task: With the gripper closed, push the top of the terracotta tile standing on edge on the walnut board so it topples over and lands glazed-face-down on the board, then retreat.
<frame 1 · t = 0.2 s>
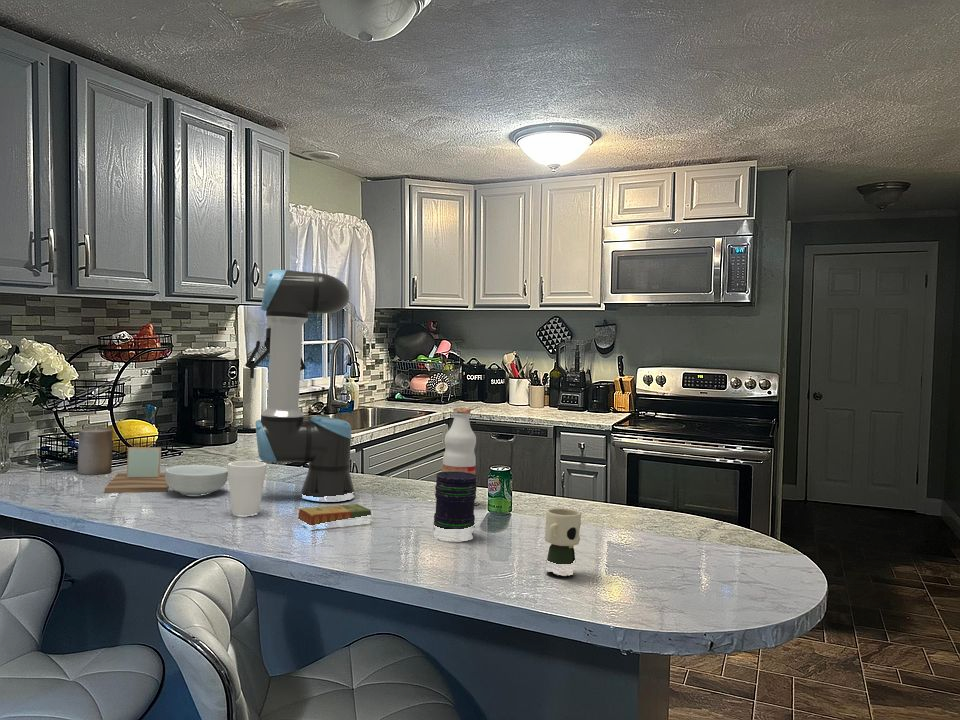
hand: (274, 388, 249), 28 cm above the counter, tool pointing down, fingers open, 13 cm apart
pillar candle: (94, 473, 227), on the counter
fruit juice: (457, 506, 205), on the counter
cereal bowl: (196, 494, 204), on the counter
character mug: (560, 575, 146), on the counter
foam cup: (245, 515, 183), on the counter
tile: (143, 477, 217), point 1 cm above the counter, touching board
brown and green block: (334, 526, 178), on the counter
board: (141, 483, 213), on the counter
storage jar: (453, 537, 171), on the counter
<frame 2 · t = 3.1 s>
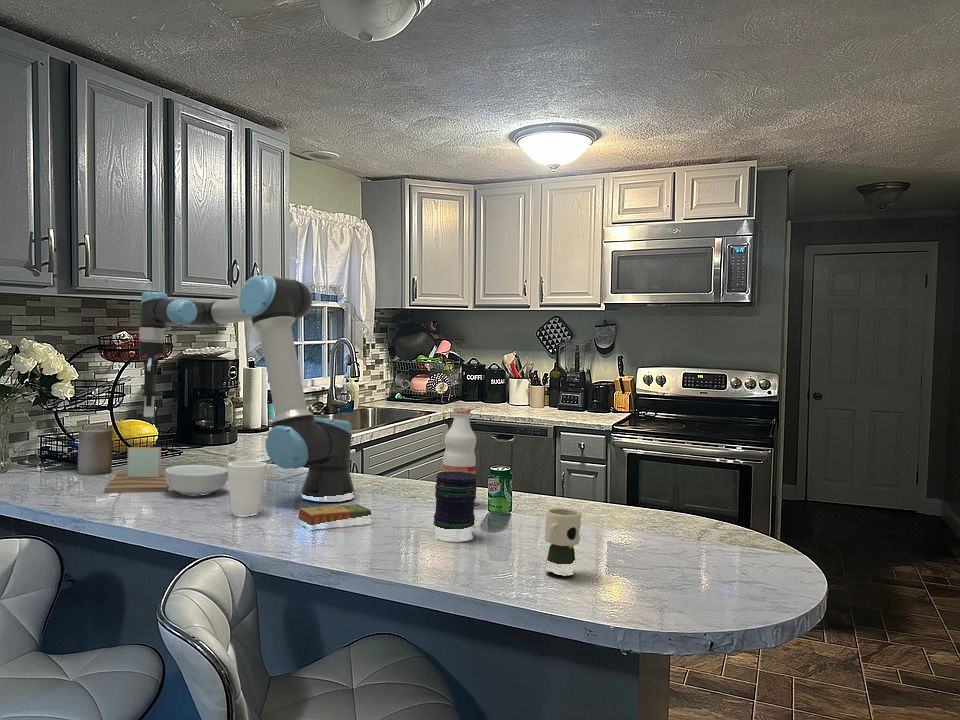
hand: (148, 416, 224), 19 cm above the counter, tool pointing down, fingers closed
nothing on the counter moved.
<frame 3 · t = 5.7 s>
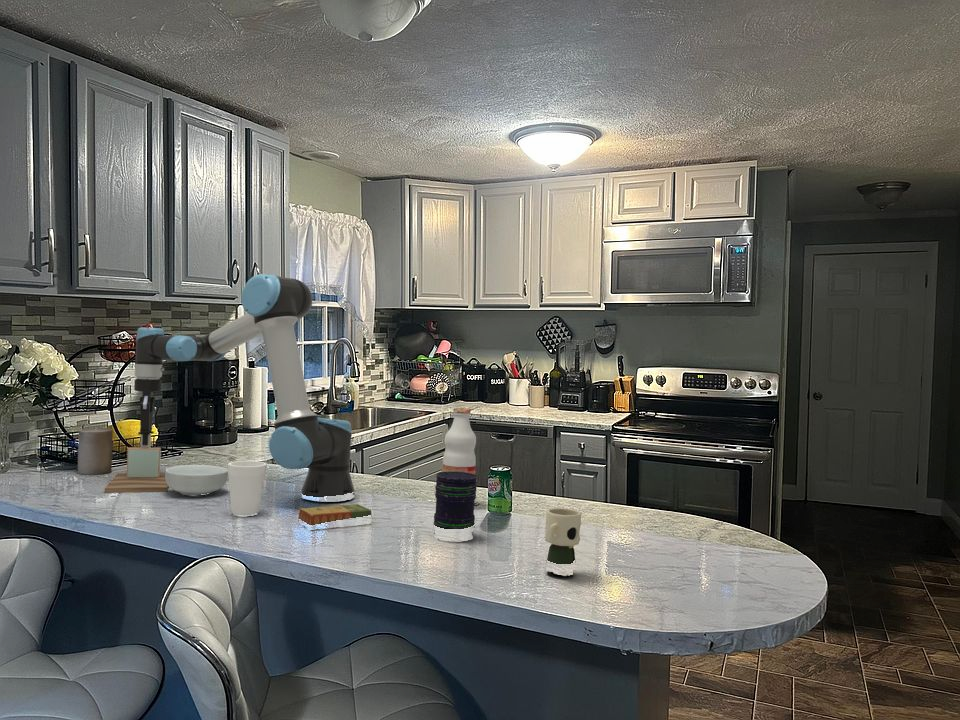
hand: (145, 455, 218), 8 cm above the counter, tool pointing down, fingers closed
tile: (143, 477, 217), point 1 cm above the counter, tilted 5°, touching board, gripper
everything else where it was.
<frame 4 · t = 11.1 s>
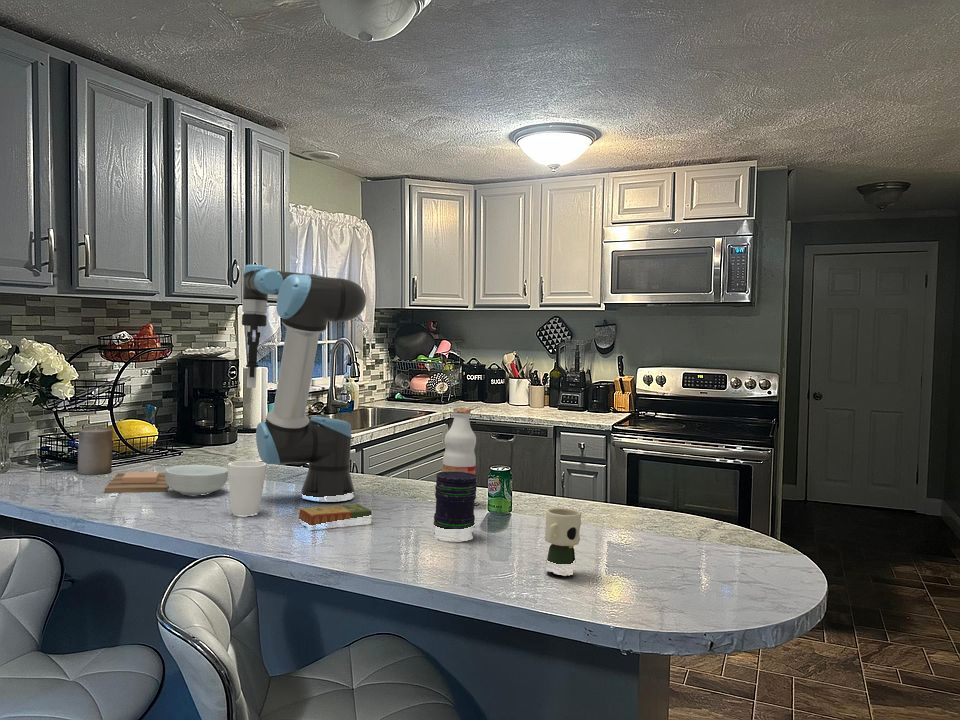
hand: (251, 387, 228), 29 cm above the counter, tool pointing down, fingers closed
tile: (143, 474, 216), point 2 cm above the counter, tilted 90°, touching board
everything else where it was.
at the end: tile tilted 90°; tile inside the target area on the board (3.1 cm from its centre), point 2.1 cm above the board's base; the gripper is holding nothing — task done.
